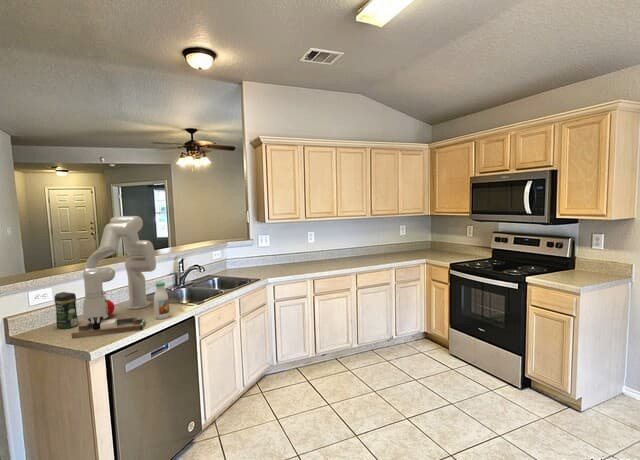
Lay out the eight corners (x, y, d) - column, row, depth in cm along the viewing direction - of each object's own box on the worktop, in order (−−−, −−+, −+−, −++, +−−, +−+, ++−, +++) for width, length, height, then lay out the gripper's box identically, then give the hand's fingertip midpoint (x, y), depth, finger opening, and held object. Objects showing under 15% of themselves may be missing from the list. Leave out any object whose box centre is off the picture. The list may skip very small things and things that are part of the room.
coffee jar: (53, 328, 185) (50, 293, 183) (69, 323, 192) (66, 290, 191) (66, 330, 182) (63, 295, 180) (81, 324, 189) (78, 291, 187)
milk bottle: (153, 320, 194) (151, 285, 192) (156, 315, 201) (153, 281, 200) (168, 318, 196) (166, 283, 194) (170, 314, 203) (168, 280, 202)
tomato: (103, 321, 194) (102, 302, 193) (85, 320, 197) (83, 302, 196) (119, 314, 205) (117, 297, 204) (101, 313, 208) (100, 296, 207)
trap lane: (82, 328, 184) (81, 323, 184) (146, 320, 193) (146, 316, 193) (71, 338, 170) (71, 333, 170) (142, 329, 179) (141, 325, 179)
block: (104, 329, 181) (103, 320, 180) (117, 328, 183) (116, 318, 182) (100, 333, 175) (100, 324, 175) (114, 332, 177) (113, 322, 177)
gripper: (112, 291, 182) (115, 325, 183) (79, 294, 177) (82, 329, 179) (109, 295, 175) (111, 330, 176) (74, 298, 170) (77, 334, 172)
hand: (96, 330), depth 178 cm, fingers closed
